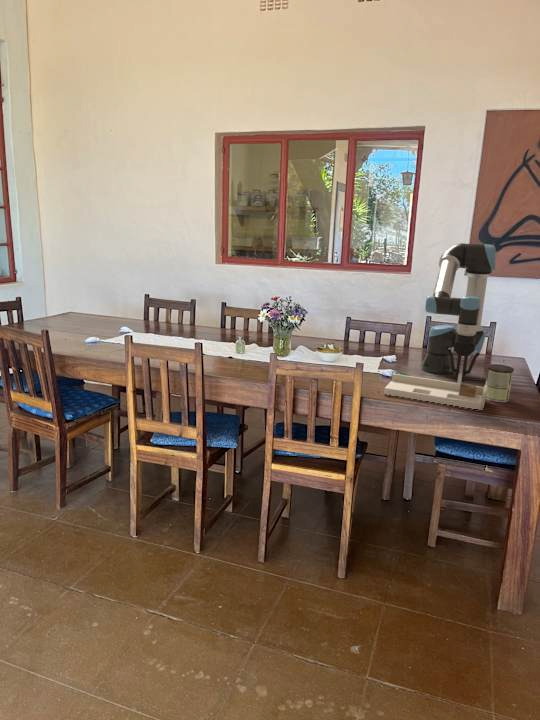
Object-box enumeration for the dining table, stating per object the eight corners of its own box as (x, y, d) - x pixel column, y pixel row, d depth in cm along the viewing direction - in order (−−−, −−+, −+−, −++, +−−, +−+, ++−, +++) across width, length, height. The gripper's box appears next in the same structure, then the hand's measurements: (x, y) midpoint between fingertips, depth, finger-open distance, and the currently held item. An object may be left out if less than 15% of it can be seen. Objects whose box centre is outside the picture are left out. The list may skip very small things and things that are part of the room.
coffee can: (479, 394, 232) (483, 363, 228) (502, 395, 232) (506, 364, 229) (489, 402, 222) (494, 370, 218) (513, 402, 222) (518, 370, 219)
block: (460, 392, 224) (461, 383, 223) (475, 394, 221) (476, 385, 220) (459, 395, 219) (460, 386, 218) (474, 397, 217) (475, 388, 216)
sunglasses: (393, 377, 254) (395, 368, 253) (424, 385, 248) (426, 376, 246) (385, 384, 242) (387, 374, 240) (417, 393, 236) (420, 383, 234)
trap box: (391, 386, 239) (393, 371, 237) (485, 401, 223) (487, 385, 221) (384, 394, 226) (385, 379, 224) (482, 411, 210) (485, 394, 208)
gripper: (448, 333, 216) (441, 388, 221) (482, 337, 210) (474, 393, 216) (450, 330, 222) (443, 383, 228) (483, 334, 217) (475, 388, 223)
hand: (458, 388), depth 222 cm, fingers closed
